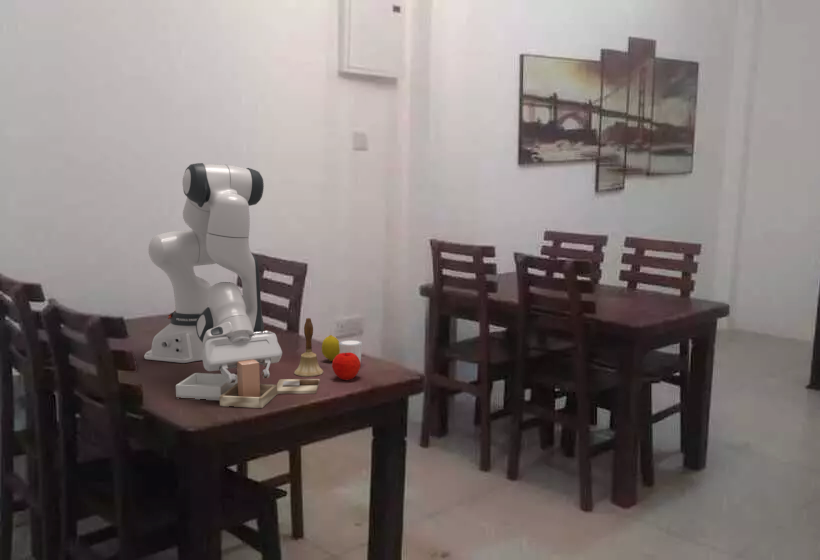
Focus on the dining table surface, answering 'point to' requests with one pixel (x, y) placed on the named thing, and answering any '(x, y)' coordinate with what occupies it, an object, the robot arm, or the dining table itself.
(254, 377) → the terracotta brick
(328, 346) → the lemon
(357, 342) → the white round tub
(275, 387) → the birch bin
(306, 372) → the hand bell
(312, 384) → the lid with scoop
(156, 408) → the dining table surface
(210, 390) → the white square tray
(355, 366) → the apple
